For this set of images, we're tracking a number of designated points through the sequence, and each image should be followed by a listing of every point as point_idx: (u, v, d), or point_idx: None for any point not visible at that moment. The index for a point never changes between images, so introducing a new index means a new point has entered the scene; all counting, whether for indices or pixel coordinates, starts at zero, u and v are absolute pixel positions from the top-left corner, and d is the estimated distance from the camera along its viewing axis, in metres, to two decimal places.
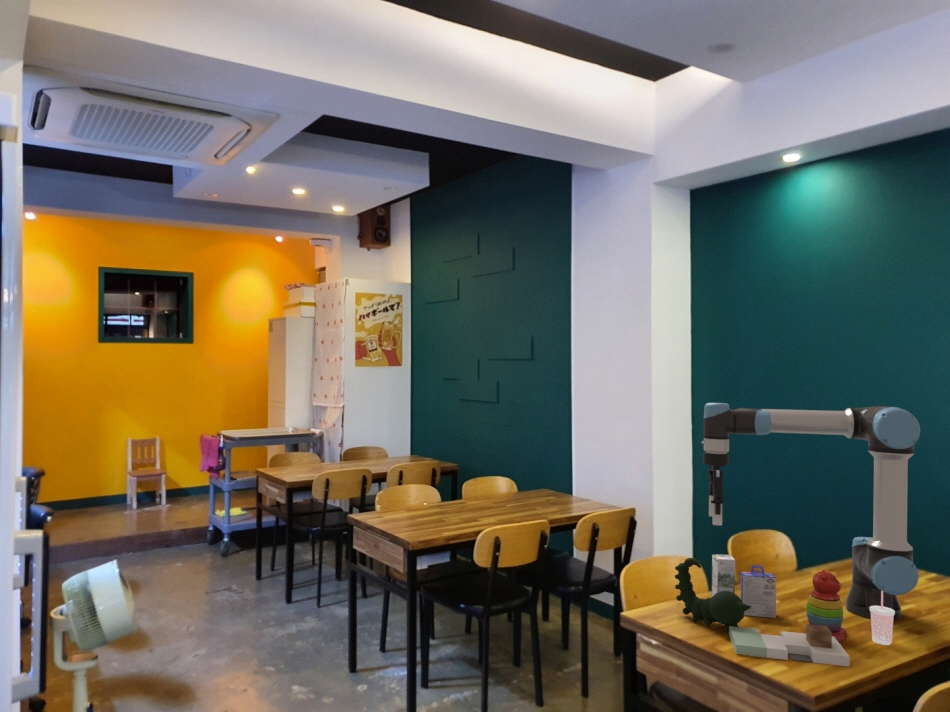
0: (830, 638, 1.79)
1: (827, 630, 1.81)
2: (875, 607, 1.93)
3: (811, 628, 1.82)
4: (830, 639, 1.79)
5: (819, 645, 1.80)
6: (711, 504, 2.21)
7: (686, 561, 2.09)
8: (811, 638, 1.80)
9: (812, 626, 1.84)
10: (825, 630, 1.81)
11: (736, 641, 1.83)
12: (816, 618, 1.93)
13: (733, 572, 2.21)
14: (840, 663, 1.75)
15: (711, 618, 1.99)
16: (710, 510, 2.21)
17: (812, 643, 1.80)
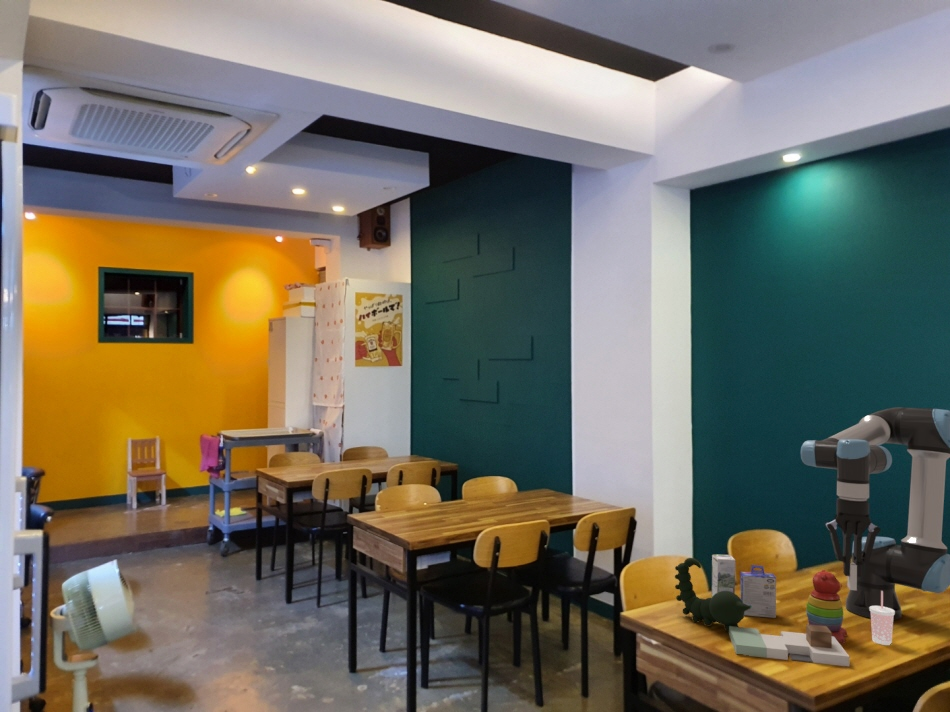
0: (830, 638, 1.79)
1: (827, 630, 1.81)
2: (875, 607, 1.93)
3: (811, 628, 1.82)
4: (830, 639, 1.79)
5: (819, 645, 1.80)
6: None
7: (686, 561, 2.09)
8: (811, 638, 1.80)
9: (812, 626, 1.84)
10: (825, 630, 1.81)
11: (736, 641, 1.83)
12: (816, 618, 1.93)
13: (733, 572, 2.21)
14: (840, 663, 1.75)
15: (711, 618, 1.99)
16: None
17: (812, 643, 1.80)
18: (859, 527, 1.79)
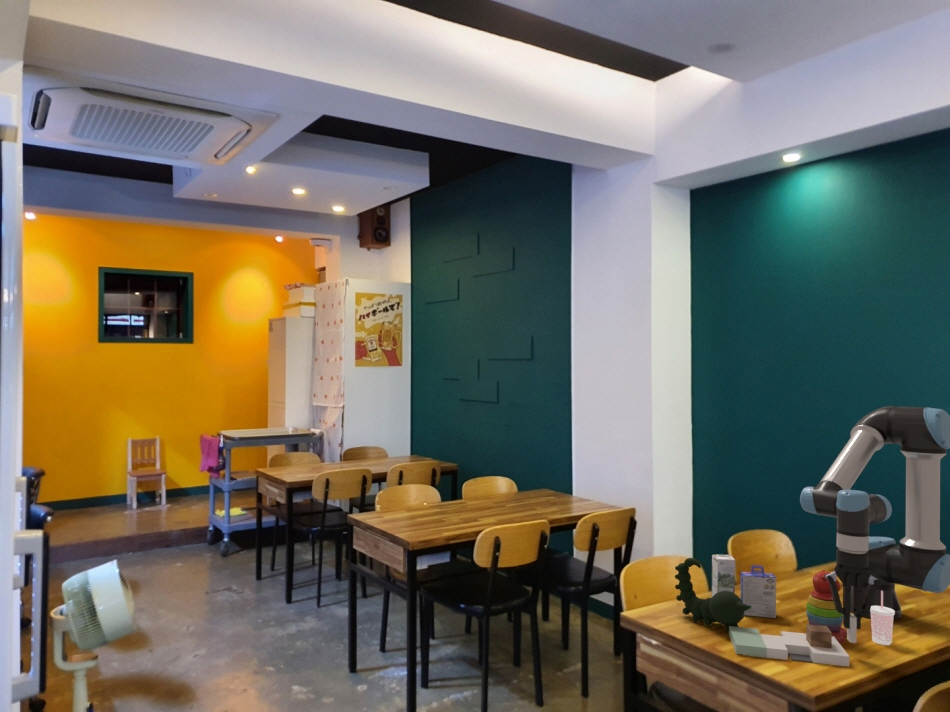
0: (830, 638, 1.79)
1: (827, 630, 1.81)
2: (875, 607, 1.93)
3: (811, 628, 1.82)
4: (830, 639, 1.79)
5: (819, 645, 1.80)
6: None
7: (686, 561, 2.09)
8: (811, 638, 1.80)
9: (812, 626, 1.84)
10: (825, 630, 1.81)
11: (736, 641, 1.83)
12: (816, 618, 1.93)
13: (733, 572, 2.21)
14: (840, 663, 1.75)
15: (711, 618, 1.99)
16: None
17: (812, 643, 1.80)
18: (858, 579, 1.79)
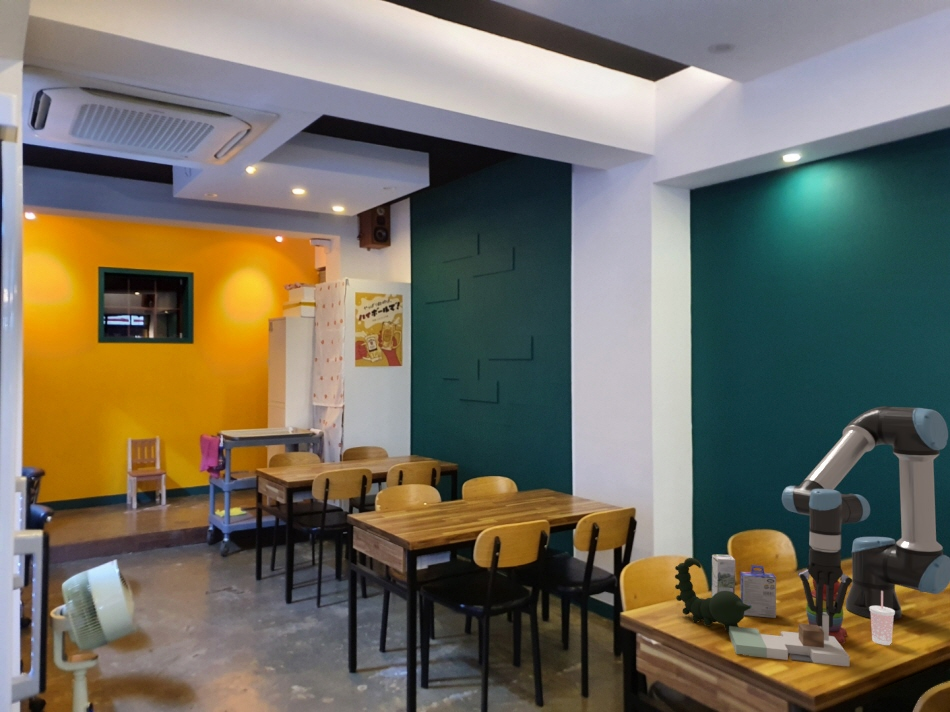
0: (822, 637, 1.80)
1: (819, 629, 1.81)
2: (875, 607, 1.93)
3: (804, 628, 1.82)
4: (822, 638, 1.80)
5: (811, 644, 1.80)
6: None
7: (686, 561, 2.09)
8: (803, 637, 1.81)
9: (804, 625, 1.84)
10: (817, 630, 1.81)
11: (736, 641, 1.83)
12: None
13: (733, 572, 2.21)
14: (840, 663, 1.75)
15: (711, 618, 1.99)
16: None
17: (804, 642, 1.81)
18: (831, 578, 1.80)
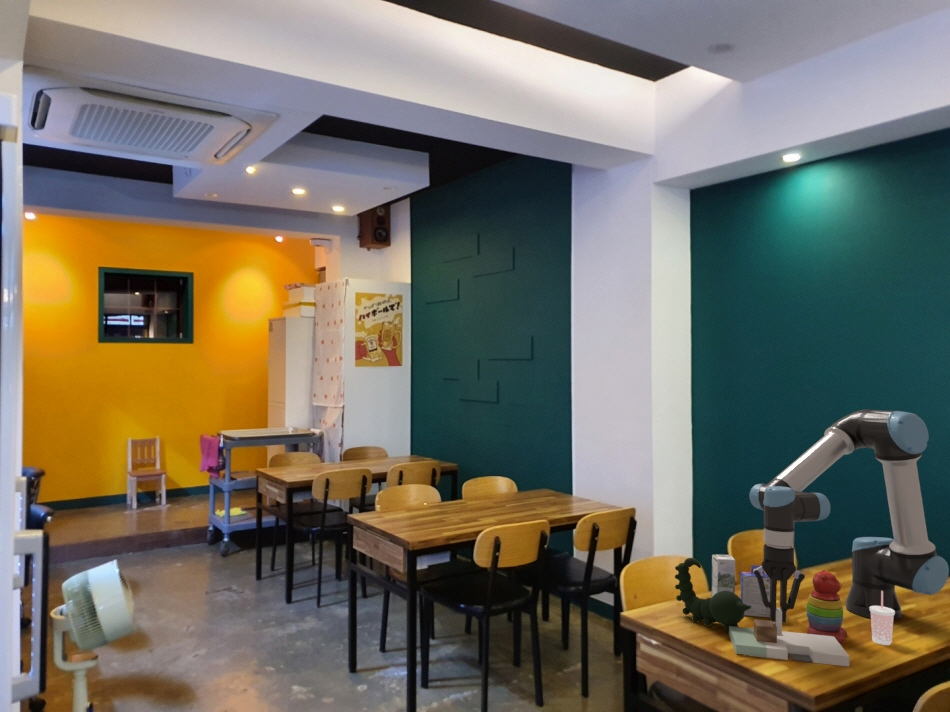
0: (775, 633, 1.82)
1: (773, 625, 1.84)
2: (875, 607, 1.93)
3: (758, 623, 1.85)
4: (775, 634, 1.82)
5: (765, 640, 1.83)
6: None
7: (686, 561, 2.09)
8: (757, 633, 1.83)
9: (759, 621, 1.87)
10: (771, 625, 1.84)
11: (736, 641, 1.83)
12: (816, 618, 1.93)
13: (733, 572, 2.21)
14: (840, 663, 1.75)
15: (711, 618, 1.99)
16: None
17: (758, 638, 1.83)
18: (784, 574, 1.83)
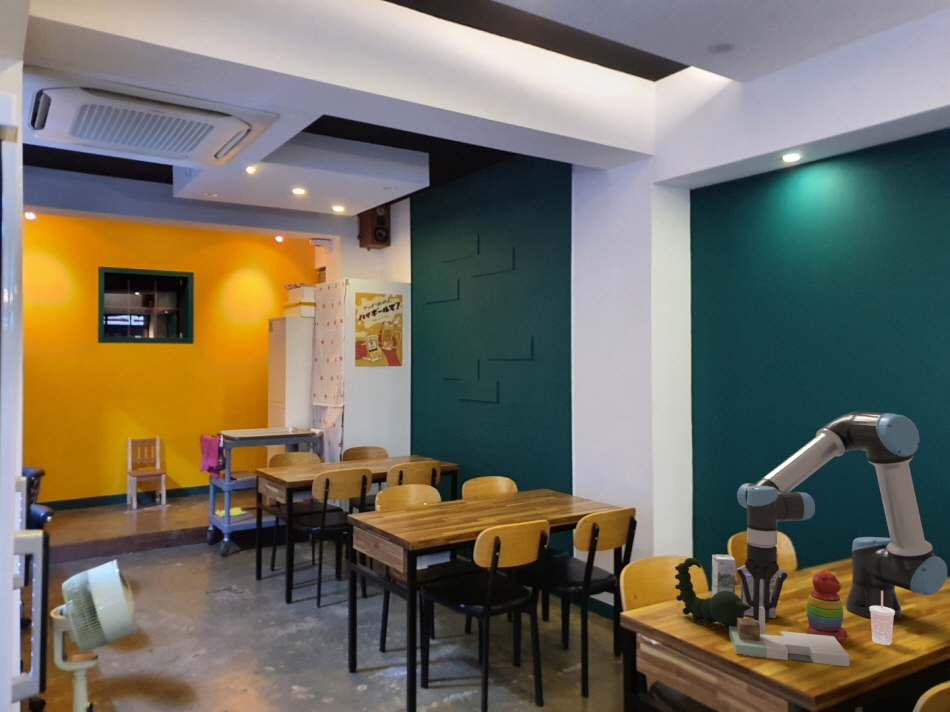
0: (758, 631, 1.83)
1: (756, 623, 1.85)
2: (875, 607, 1.93)
3: (741, 622, 1.86)
4: (758, 632, 1.83)
5: (748, 638, 1.84)
6: None
7: (686, 561, 2.09)
8: (740, 631, 1.84)
9: (742, 619, 1.88)
10: (754, 623, 1.85)
11: (736, 641, 1.83)
12: (816, 618, 1.93)
13: (733, 572, 2.21)
14: (840, 663, 1.75)
15: (711, 618, 1.99)
16: None
17: (741, 636, 1.84)
18: (766, 573, 1.84)
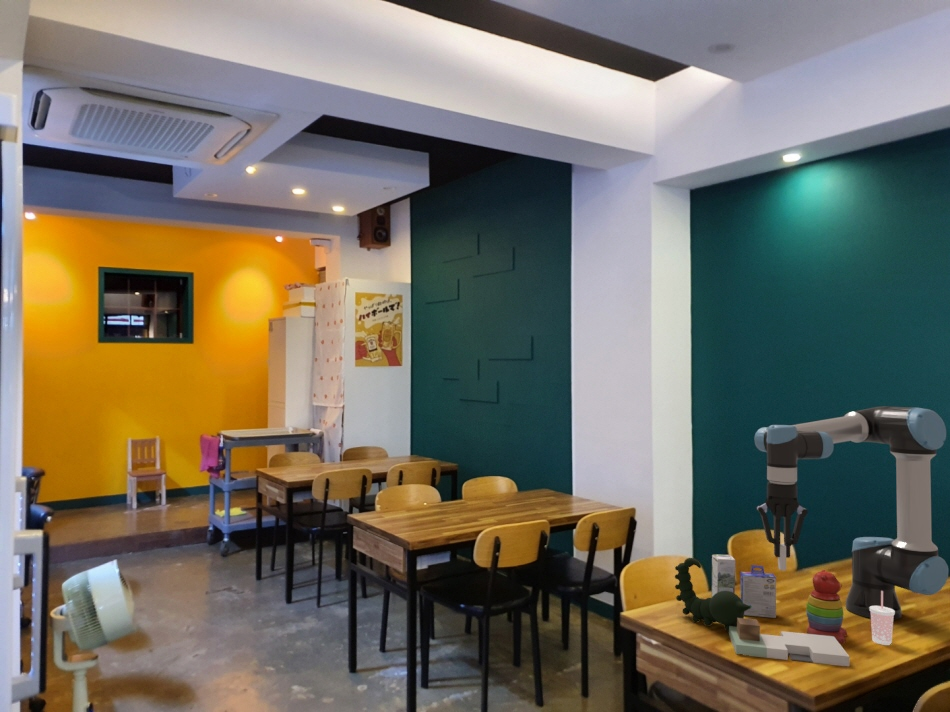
0: (758, 631, 1.83)
1: (756, 623, 1.85)
2: (875, 607, 1.93)
3: (741, 622, 1.86)
4: (758, 632, 1.83)
5: (748, 638, 1.84)
6: None
7: (686, 561, 2.09)
8: (740, 631, 1.84)
9: (742, 619, 1.88)
10: (754, 623, 1.85)
11: (736, 641, 1.83)
12: (816, 618, 1.93)
13: (733, 572, 2.21)
14: (840, 663, 1.75)
15: (711, 618, 1.99)
16: None
17: (741, 636, 1.84)
18: (787, 509, 1.86)
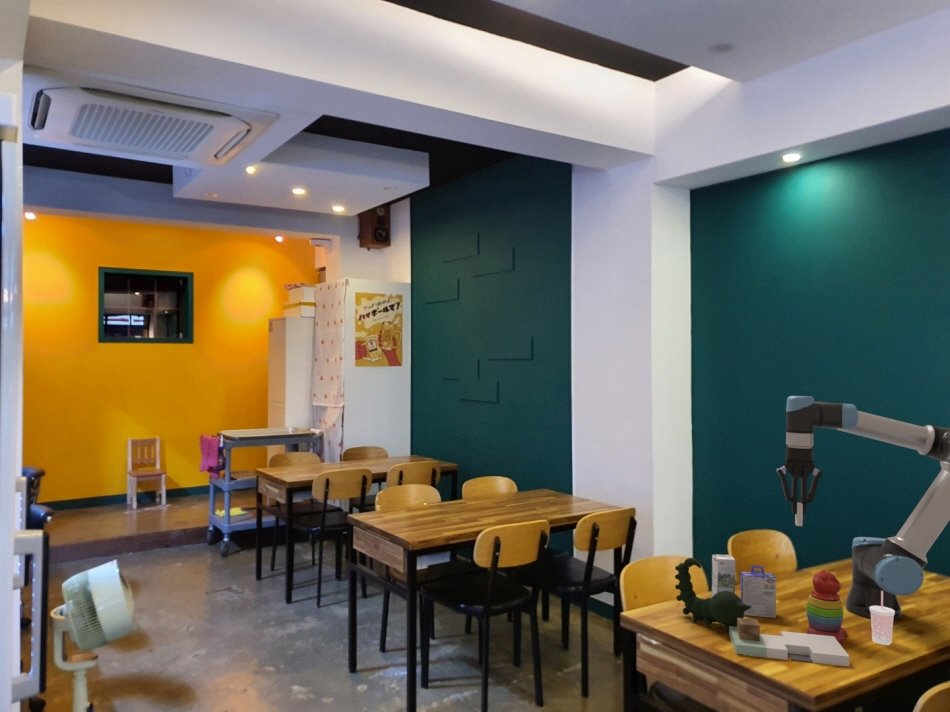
0: (758, 631, 1.83)
1: (756, 623, 1.85)
2: (875, 607, 1.93)
3: (741, 622, 1.86)
4: (758, 632, 1.83)
5: (748, 638, 1.84)
6: None
7: (686, 561, 2.09)
8: (740, 631, 1.84)
9: (742, 619, 1.88)
10: (754, 623, 1.85)
11: (736, 641, 1.83)
12: (816, 618, 1.93)
13: (733, 572, 2.21)
14: (840, 663, 1.75)
15: (711, 618, 1.99)
16: None
17: (741, 636, 1.84)
18: (804, 471, 2.06)
